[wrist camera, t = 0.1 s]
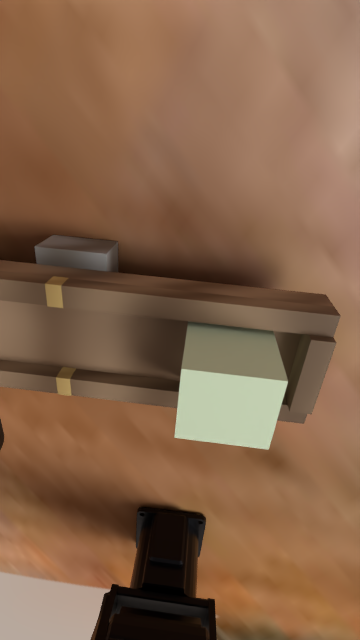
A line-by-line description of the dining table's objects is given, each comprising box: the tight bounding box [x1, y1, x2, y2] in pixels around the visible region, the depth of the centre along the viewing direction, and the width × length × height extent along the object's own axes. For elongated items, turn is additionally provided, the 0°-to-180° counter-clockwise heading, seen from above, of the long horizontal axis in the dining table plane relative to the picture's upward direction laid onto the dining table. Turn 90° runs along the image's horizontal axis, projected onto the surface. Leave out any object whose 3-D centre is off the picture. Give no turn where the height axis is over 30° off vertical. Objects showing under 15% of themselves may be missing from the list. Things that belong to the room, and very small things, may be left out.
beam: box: [0, 235, 340, 424], centre depth 21 cm, size 28×9×6 cm, turn 86°
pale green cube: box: [175, 321, 288, 450], centre depth 17 cm, size 4×4×4 cm
